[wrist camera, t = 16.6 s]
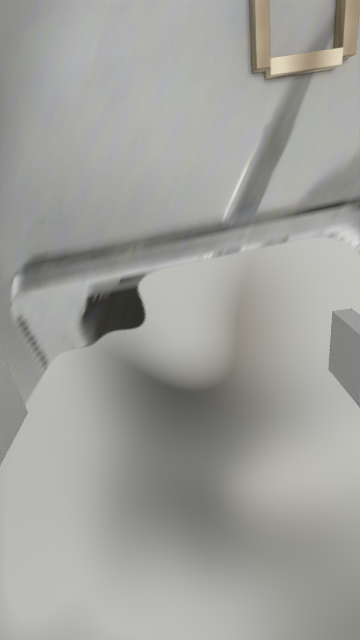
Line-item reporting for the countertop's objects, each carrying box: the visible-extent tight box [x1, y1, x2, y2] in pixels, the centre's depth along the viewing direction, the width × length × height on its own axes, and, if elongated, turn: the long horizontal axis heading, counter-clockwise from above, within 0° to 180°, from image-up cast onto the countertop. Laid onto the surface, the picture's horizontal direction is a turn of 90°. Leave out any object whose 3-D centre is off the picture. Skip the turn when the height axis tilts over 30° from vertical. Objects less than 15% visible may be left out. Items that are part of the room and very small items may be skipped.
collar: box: [250, 0, 360, 79], centre depth 33 cm, size 10×10×2 cm
